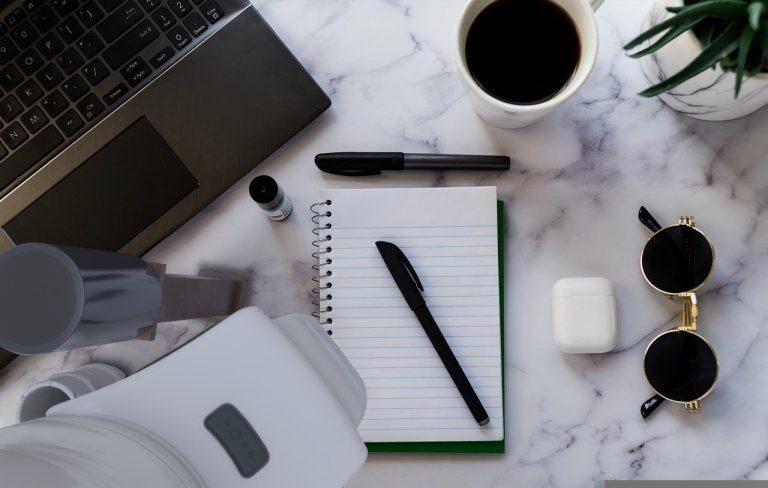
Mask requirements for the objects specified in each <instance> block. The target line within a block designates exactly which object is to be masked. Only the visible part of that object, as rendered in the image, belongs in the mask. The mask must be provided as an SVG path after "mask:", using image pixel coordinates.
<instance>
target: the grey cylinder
mask: <svg viewBox="0 0 768 488" xmlns="http://www.w3.org/2000/svg"><path fill="white" fill-rule="evenodd" d="M145 261H146V260H144V259H142V258H141V257H139V256H137V255H134V254H131V253H128V252H127V253H126V252H119V251H110V250H102V249H95V248H85V247H78V246H69V245H61V244H52V243H45V242H25V243H22V244H18V245H15V246H13V247H11V248H8V249H7V250H6V251H4V252H3V253H1V254H0V347H2V348H3V349H4V350H7V351H9V352H11V353H14V354H16V355H21V356H28V357H29V356H41V355H47V354H53V353H59V352H66V351H73V350H78V349H85V348H91V347H97V346H103V345H109V344H116V343H123V342H128V341H131V340H135V339H134V338H136V337H138V336H140V335H141V334H143V333H144V332H145V331H146V330H147V329H148V328H149V327H150V326H151V325H152V324H153V322H154V321H155V319H156V317H157V315H158V312H159V310H160V306H161V298H162V294H161V286H160V283H159V280H158V277H157V275H156V273H155V272H154V270H153V269H152V268H151V266H150V265H149V264H148V263H146V262H145Z"/></svg>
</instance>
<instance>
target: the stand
mask: <svg viewBox="0 0 768 488" xmlns="http://www.w3.org/2000/svg"><path fill="white" fill-rule="evenodd" d="M144 261H145V262H146V263H148V264H149V265H150V266H151V268H152V269H153V270H154V272H155V273H156V275H157V277H158V280H159V283H160V286H161V294H162V298H161V306H160V310H159V312H158V315H157V317H156V319H155V321H154V322H153V324H152V325H151V326H150V327H149V328H148V329H147V330H146V331H145V332H144V333H143V334H141V335H140V336H138V337H136V338H134V339H133V340H140V341H145V342H146V341H147V342H154V341H155V340H156V337H157V336H156V334H157V328H158V324H162V323H163V324H164V323H171V322H181V321H189V320H197V319H198V320H199V319H206V318H207V319H208V318H211V319H217V320H222V321H223V320H225V319H226V318H227V317H229V316H230V315H232V314H233V313H235V312H237V311H238V310H240V309H242V308H244V303H245V296H246V290H247V285H248V284H247V283H248V277H249V276H248V275H244V274H237V273H230V272H223V271H217V270H208V269H199V272H198V275H197V274H182V273H181V274H180V273H166V272H167V263H161V262H154V261H147V260H144Z"/></svg>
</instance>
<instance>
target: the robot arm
mask: <svg viewBox="0 0 768 488" xmlns="http://www.w3.org/2000/svg"><path fill="white" fill-rule="evenodd" d="M367 392H368V391H367V387H366V384H365V381H364V380H363V378H362V376H361V374H359V372H358V371H357V370H356V368H355V367H354V366H353V364H352V363H351V361H350V360H349V358H348V357H347V356H346V354H344V352H343V351H342V349H341V348H340V346H338V344H337V343H336V342H335V340H333V338H332V337H331V335H330V334H329V333H328V332H327V330H326V329H325V328H324V327H323V326H322V325H321V323H320V322H319V321H318V319H317V318H315V317H314V316H312V315H309V314H308V313H301V312H291V313H286V314H282V315H279V316H277V317H274V318H271V317H270V316H269V315H268V314H267V313H266V312H265V311H264V310H262V308H261V307H259V306H257V305H249V306H246V307H243V308H242V309H240V310H238V311H237V312H235V313H233V314H232V315H230V316H229V317H227V318H226V319H225V320H223V319H222V321H217V322H215V323H214V324H211V325H210V326H208V327H207V328H205V329H204V330H202V331H201V332H199V333H197V334H196V335H194V336H193V337H190V338H189V339H188V340H186V341H185V342H183V343H181V344H180V345H178V346H177V347H175V348H173V349H172V350H170V351H168V352H167V353H164V354H163V355H161V356H160V357H158V358H156V359H154V360H153V361H151V362H149V363H147V364H145V365H144V366H142V367H140V368H138V369H137V370H135V372H134V373H133V374H131V375H128V376H127V377H125V379H122V380H120V381H118V382H116V383H113V384H111V385H109V386H106V387H104V388H101V389H99V390H96V391H93V392H91V393H88V394H85V395H82V396H79V397H77V398H74V399H71V400H68V401H65V402H62V403H59V404H57V405H55V406H53V407H51V408H50V409H49V410H48V411H47V412H46V416H45V417H41V418H37V419H33V420H29V421H26V422H22V423H18V424H16V423H15V424H11V425H7V426H2V427H0V488H344V487H345V486H347V484H348V483H349V482H350V481H351V480H352V479H353V478H354V477H355V476H356V475H357V474H358V473H359V472H360V470H361V469H362V468H363V467H364V465H365V463H366V461H367V458H368V456H369V455H368V453H369V450H368V447H367V446H366V444H365V442H364V440H363V439H362V436H361V434H360V433H359V432H358V430H357V429H358V428H359V426H360V424H361V423H362V421H363V419H364V416H365V415H366V411H367V406H368V393H367Z"/></svg>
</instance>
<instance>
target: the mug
mask: <svg viewBox="0 0 768 488" xmlns="http://www.w3.org/2000/svg"><path fill="white" fill-rule="evenodd" d="M126 376H127V375H126V373H125V372H124V371H122V370H121V369H120V368H118V367H116V366H113V365H109V364H106V363H101V362H94V363H88V364H82V365H80V366H78V367H77V368H75V369H73V370H72V371H64V372H55V373H52V374H51V375H50V376H48V377H47V378H46V379H45V380H41V381H38V382H36V383H34V384H32V385H30V386H29V387H27V388H26V389H24V391H23V392H22V394H21V395H20V397H19V399H18V401H17V403H16V406H17V411H16V412H15V424H18V423H22V422H26V421H29V420H33V419H37V418H41V417H45V416H46V412H47V411H48V410H49V409H50V408H51V407H53V406H55V405H57V404H59V403H62V402H65V401H68V400H71V399H74V398H77V397H79V396H82V395H85V394H88V393H91V392H93V391H96V390H99V389H101V388H104V387H106V386H109V385H111V384H113V383H116V382H118V381H120V380H122V379H125V378H127V377H126Z"/></svg>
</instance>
